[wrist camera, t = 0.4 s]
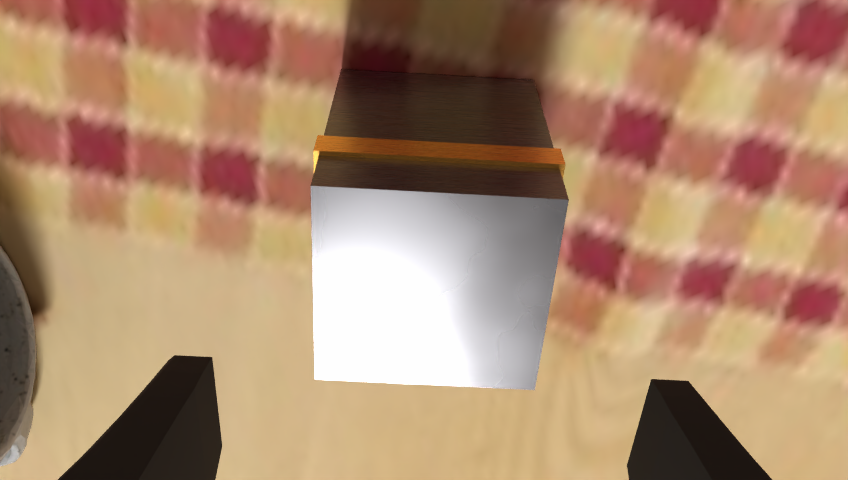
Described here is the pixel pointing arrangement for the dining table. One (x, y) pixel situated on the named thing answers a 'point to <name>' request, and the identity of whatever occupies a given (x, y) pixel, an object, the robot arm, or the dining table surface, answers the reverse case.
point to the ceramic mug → (15, 363)
